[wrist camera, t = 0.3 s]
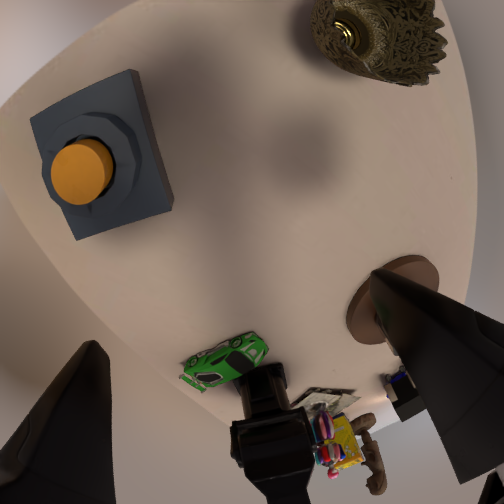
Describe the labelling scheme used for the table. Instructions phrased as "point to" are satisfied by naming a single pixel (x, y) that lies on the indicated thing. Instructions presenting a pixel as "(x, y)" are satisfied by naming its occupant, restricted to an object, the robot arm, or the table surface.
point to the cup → (380, 38)
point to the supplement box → (345, 442)
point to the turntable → (363, 309)
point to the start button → (81, 171)
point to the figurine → (370, 454)
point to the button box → (119, 146)
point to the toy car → (225, 361)
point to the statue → (325, 424)
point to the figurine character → (404, 395)
